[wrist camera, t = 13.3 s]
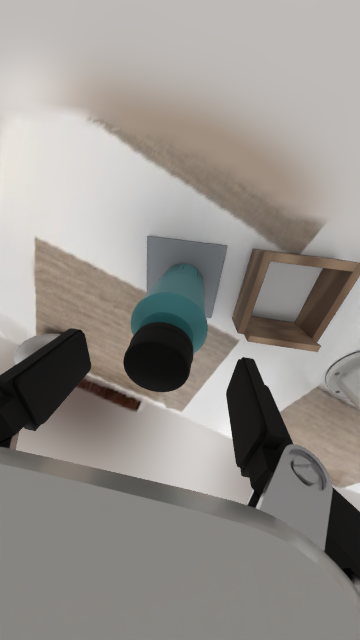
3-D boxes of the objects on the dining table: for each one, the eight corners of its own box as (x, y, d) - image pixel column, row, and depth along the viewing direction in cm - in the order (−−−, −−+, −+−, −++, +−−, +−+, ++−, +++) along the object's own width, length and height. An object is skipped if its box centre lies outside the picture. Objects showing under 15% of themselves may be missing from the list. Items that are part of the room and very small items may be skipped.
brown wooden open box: (335, 258, 23) (384, 267, 17) (298, 328, 29) (324, 353, 23) (253, 248, 24) (271, 253, 18) (232, 318, 30) (240, 340, 23)
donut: (46, 336, 37) (-3, 367, 28) (45, 324, 35) (-6, 353, 26) (87, 351, 38) (53, 386, 29) (89, 340, 36) (53, 374, 27)
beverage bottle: (166, 257, 25) (85, 308, 7) (208, 264, 25) (229, 333, 7) (163, 296, 28) (100, 398, 10) (200, 302, 28) (200, 418, 10)
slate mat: (226, 245, 24) (227, 245, 23) (210, 315, 30) (211, 318, 29) (149, 236, 25) (147, 236, 24) (148, 306, 30) (146, 308, 29)
